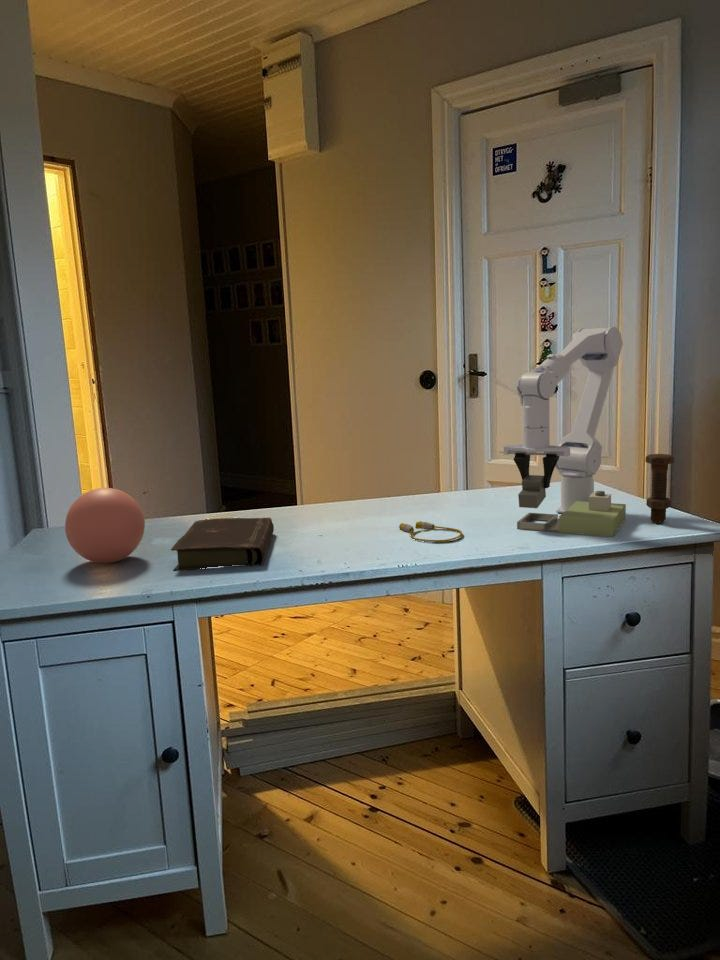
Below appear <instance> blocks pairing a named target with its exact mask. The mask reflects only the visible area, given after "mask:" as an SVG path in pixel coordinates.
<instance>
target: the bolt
mask: <svg viewBox="0 0 720 960" xmlns="http://www.w3.org/2000/svg"><path fill="white" fill-rule="evenodd" d="M645 463H647V464H650V466H651V467H650V470H651V482H650V483H651V489H650V494H651V495H650V497H648V498H647V499H646V504H645V505H646V506H647V507H648V508H649V509H650V521H651V523H653V524H655V523H656V524H655V525H658V524H660V523H661V524H664V523H665V521H666V519H667V509H668V508H670V507H671V506H672V501H671V499H670V498H669V497H667V489H668V471H669V465H671V464H674V463H675V457H674V455H672V454H667V453H651V454H647V455H646V456H645Z"/></svg>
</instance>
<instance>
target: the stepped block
mask: <svg viewBox="0 0 720 960" xmlns="http://www.w3.org/2000/svg"><path fill="white" fill-rule="evenodd" d="M521 487H522V489H521V491H520V492H519V493H518V494H517V496H518V507H519V508H524V509H525V508H526V509H527V508H528V509H538V508H539V507H540V505H541V504H542V503H543V501H544V500H545V499H546V497H547V491H546V488H544V475H539V474H536V475H535V474H529V475H527V476H526V477H525V478H524V479H523V480H521Z"/></svg>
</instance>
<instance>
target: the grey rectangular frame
mask: <svg viewBox="0 0 720 960" xmlns="http://www.w3.org/2000/svg"><path fill="white" fill-rule="evenodd" d="M530 521H543V522H544V521H545V523H542V522H541V523H540V522H530ZM516 529H518V530H528V531H529V530H530V531H539V532H551V533H552V532H554V533H560V532H559V515H558V514H555V513H554V514H553V513H539V512H528V513H526V514H525V515H524V516H523V517H521V518H520V519H519V520H518V521H517V522H516Z"/></svg>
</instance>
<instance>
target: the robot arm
mask: <svg viewBox="0 0 720 960" xmlns="http://www.w3.org/2000/svg"><path fill="white" fill-rule="evenodd" d="M571 339H572V340H571V341H570V342H569V343H568V344H567V345H566V346H565V348H563V350H562V351H560V353H549V354H548V355H546V359H545V360H544V361H543V362H542V363H541V364H539V365H537V366H536V367H535V368H534V370H532V371H531V372H530V371H529V372H524V373H523V374H522V375H521V376H520V377H519V379H518V382H517V385H516V391H517V395H518V396H519V399H520V402H519V403H520V405H521V406H522V442H523V443H522V444H516V445H515V444H511V445H510V444H506V445H504V446H503V455H505V456H509V455H514V457H513V461H514V464H515V465H516V467H517V469H518V471H519V473H520V477H521V479H522V480H523V479H524V478H525V477H526V476H527V475H530V463H531V462H530V461H531V456H544V457H542V464H543V476H544V488H545V489H549V488H550V486H551V480H552V476H553V473H554V471H555V469H556V470H557V472H558V473H557V474H558V475H560V507H558V508H557V510H556V511H555V513H559V514H563V513H564V512H565V511H566V510H567V509H568V508H569V507H570V506H571V505H572V504H574V503H575V502H576V501H581V502H589V496H590V495H591V494H592V493H595V481H594V475H596V473H598V471H599V469H600V467H601V464H602V451H603V446H602V444H601V443H600V441H599V440H598V439H597V438H596V437H595V436H596V432H597V429H598V427H599V426H598V425H599V422H600V418H601V414H602V411H603V407H604V404H605V401H606V397H607V394H608V390H609V387H610V384H611V380H612V376H613V374H614V373H613V372H614V369H615V367H616V366H617V365H618V362H619V358H620V355H621V351H622V348H623V346H624V344H623V338H622V334H621V332H620V330H619V328H618V327H617V326H610V327H597V328H579V329H577V331H575V332H574V333H573V334H572V338H571ZM578 360H580V362H581V364H582V366H584V367H585V368H586V369H588V376H587V380H586V381H585V386H584V389H583V392H582V396H581V399H580V403H579V406H578V409H577V410H578V411H577V412H576V417H575V421H574V423H573V427H572V431H571V432H569V433H568V434H566V435H564V436H563V437H562V438H561V439H560V442H559V444H558V445H550V399H551V397H553V396H554V394H555V392H556V387H558V385H559V383H560V382H561V381H562V380H563V379H564V378H566V376H568V374H569V373H570V371H571V365H573V364H574V363H575V362H577V361H578ZM522 480H521V481H522Z"/></svg>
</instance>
